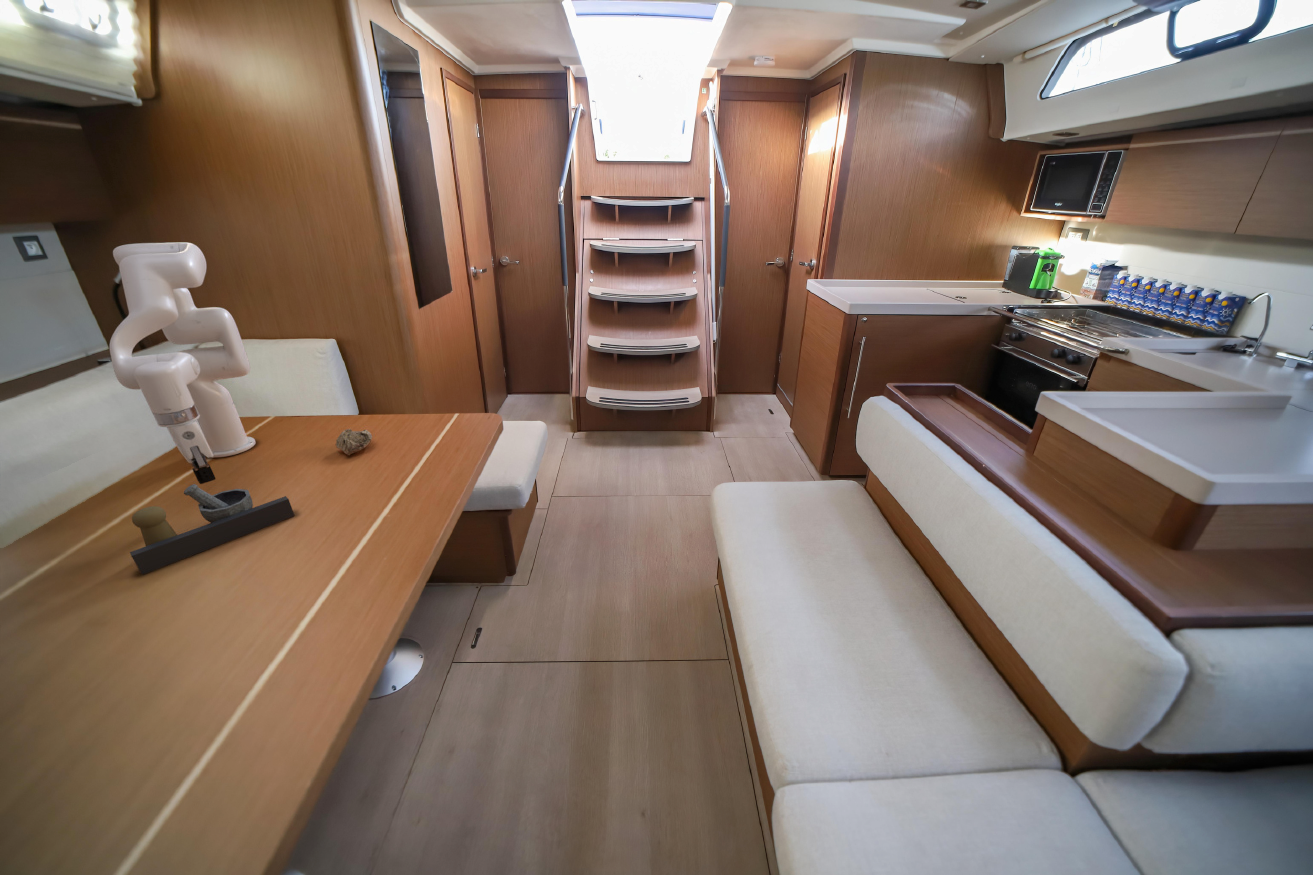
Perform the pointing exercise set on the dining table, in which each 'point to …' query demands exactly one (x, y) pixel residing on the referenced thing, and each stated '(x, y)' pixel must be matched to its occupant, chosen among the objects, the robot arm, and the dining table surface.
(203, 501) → the mortar and pestle
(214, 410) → the robot arm
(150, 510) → the cork
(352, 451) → the rough grey rock
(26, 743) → the dining table surface
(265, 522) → the backstop rail
